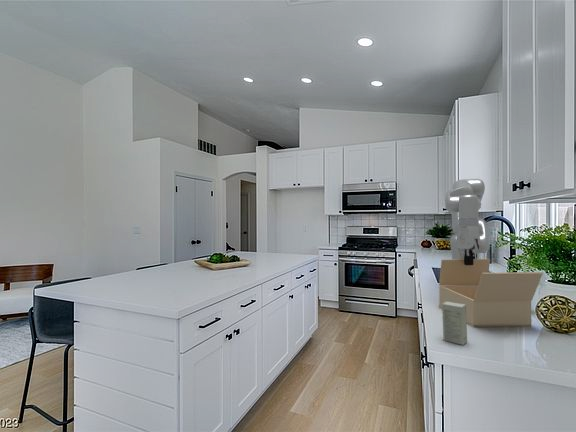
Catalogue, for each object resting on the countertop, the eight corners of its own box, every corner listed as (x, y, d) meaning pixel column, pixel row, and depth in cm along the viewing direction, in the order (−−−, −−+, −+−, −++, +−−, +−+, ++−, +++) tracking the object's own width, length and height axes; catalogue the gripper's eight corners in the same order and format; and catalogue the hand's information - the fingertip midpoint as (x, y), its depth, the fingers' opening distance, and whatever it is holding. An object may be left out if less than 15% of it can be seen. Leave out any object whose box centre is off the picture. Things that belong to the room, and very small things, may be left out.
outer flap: (482, 272, 107) (483, 273, 107) (541, 272, 108) (542, 273, 107) (473, 300, 112) (474, 301, 112) (530, 299, 113) (531, 300, 112)
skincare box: (467, 341, 99) (467, 304, 99) (463, 345, 96) (463, 307, 96) (446, 336, 104) (446, 300, 104) (442, 339, 101) (441, 303, 101)
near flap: (490, 259, 134) (489, 259, 135) (442, 259, 134) (441, 259, 135) (486, 284, 137) (485, 284, 137) (439, 285, 136) (439, 284, 137)
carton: (439, 307, 136) (439, 285, 136) (487, 306, 137) (487, 285, 137) (473, 327, 112) (473, 300, 112) (531, 326, 113) (531, 300, 113)
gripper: (450, 223, 140) (450, 262, 140) (471, 223, 125) (471, 267, 125) (466, 223, 140) (466, 262, 140) (488, 223, 125) (489, 267, 125)
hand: (468, 264), depth 132 cm, fingers closed
